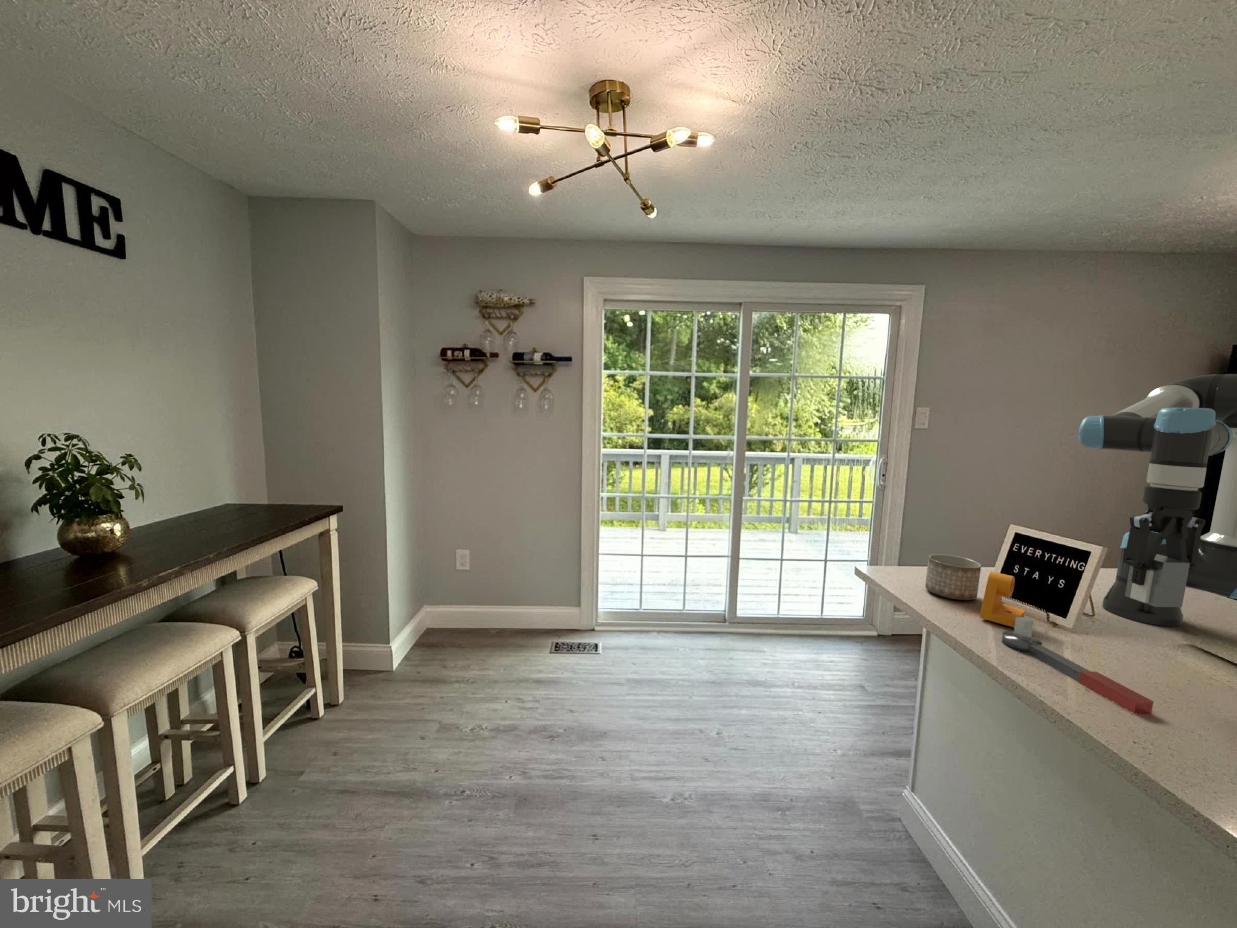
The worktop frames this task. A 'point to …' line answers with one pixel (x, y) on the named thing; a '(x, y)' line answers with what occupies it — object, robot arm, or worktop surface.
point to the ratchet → (1074, 668)
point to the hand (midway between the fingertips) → (1153, 599)
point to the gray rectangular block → (1165, 582)
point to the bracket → (999, 600)
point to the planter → (953, 576)
